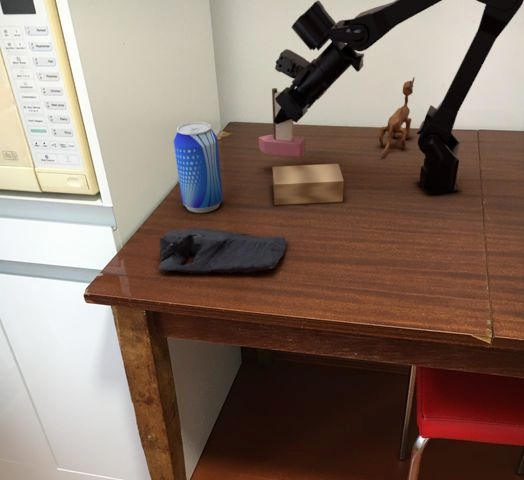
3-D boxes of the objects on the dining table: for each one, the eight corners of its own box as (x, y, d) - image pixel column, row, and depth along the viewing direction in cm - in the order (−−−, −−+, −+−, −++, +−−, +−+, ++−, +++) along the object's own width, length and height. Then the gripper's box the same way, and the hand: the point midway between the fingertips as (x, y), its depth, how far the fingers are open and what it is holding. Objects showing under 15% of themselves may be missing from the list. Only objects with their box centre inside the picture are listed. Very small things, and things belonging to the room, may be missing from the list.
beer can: (174, 207, 124) (162, 129, 114) (204, 193, 128) (195, 117, 118) (201, 218, 119) (192, 138, 109) (231, 203, 124) (225, 125, 114)
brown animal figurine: (395, 161, 137) (401, 99, 129) (368, 157, 140) (372, 96, 131) (417, 135, 149) (424, 77, 141) (391, 132, 152) (397, 75, 143)
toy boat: (305, 149, 133) (305, 87, 124) (299, 157, 130) (299, 93, 121) (262, 145, 136) (260, 84, 127) (255, 153, 133) (252, 90, 124)
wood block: (337, 183, 129) (338, 163, 126) (342, 201, 122) (343, 180, 119) (273, 186, 129) (272, 166, 126) (274, 205, 122) (273, 184, 119)
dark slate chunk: (275, 284, 99) (274, 260, 96) (150, 274, 103) (146, 250, 100) (291, 240, 110) (291, 216, 107) (179, 232, 115) (176, 209, 112)
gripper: (313, 26, 123) (265, 79, 134) (284, 47, 110) (233, 105, 120) (348, 68, 126) (299, 118, 136) (324, 94, 113) (271, 147, 123)
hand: (276, 121), depth 129 cm, fingers closed on toy boat
